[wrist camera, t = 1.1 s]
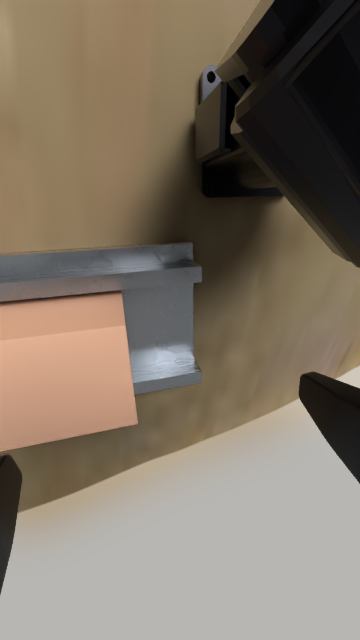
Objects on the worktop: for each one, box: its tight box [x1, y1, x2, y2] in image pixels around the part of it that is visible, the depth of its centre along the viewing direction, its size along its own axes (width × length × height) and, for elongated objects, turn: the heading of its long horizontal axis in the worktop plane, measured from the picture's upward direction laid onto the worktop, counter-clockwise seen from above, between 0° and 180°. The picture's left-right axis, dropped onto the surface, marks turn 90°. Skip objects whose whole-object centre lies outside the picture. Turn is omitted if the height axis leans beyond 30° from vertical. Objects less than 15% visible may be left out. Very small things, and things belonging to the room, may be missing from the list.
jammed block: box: [0, 290, 138, 452], centre depth 15 cm, size 8×6×6 cm
